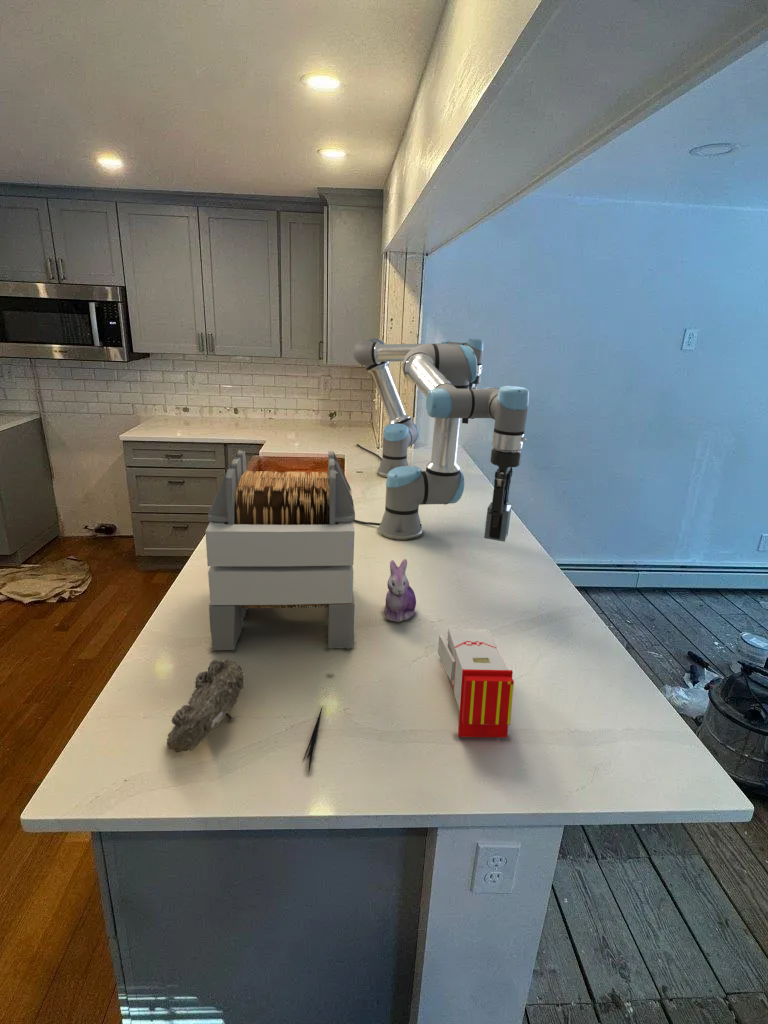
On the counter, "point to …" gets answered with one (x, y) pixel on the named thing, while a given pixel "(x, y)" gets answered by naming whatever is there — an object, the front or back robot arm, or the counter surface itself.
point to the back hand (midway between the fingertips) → (468, 420)
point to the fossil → (206, 705)
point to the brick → (504, 526)
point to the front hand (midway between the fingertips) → (496, 533)
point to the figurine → (399, 594)
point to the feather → (313, 740)
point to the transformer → (281, 548)
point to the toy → (478, 682)
